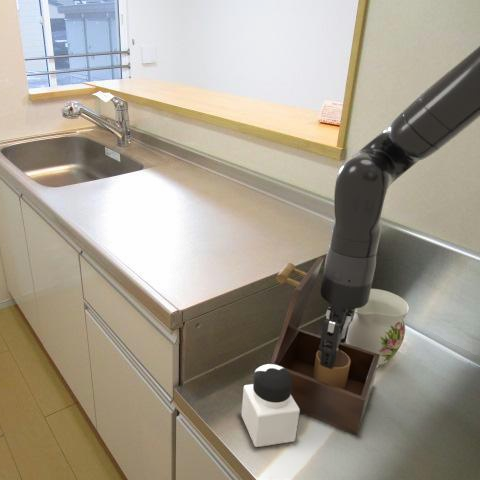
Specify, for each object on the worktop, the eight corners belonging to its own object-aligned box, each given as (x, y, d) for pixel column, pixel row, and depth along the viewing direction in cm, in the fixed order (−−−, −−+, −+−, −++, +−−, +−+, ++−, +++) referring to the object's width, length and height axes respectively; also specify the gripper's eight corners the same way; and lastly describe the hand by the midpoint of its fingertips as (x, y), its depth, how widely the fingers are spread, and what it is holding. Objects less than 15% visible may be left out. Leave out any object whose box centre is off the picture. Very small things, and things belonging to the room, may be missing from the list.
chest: (372, 387, 86) (380, 354, 83) (356, 435, 76) (364, 400, 72) (292, 358, 94) (296, 327, 91) (268, 399, 84) (271, 365, 80)
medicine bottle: (296, 442, 75) (304, 386, 70) (254, 448, 74) (260, 391, 69) (278, 410, 81) (285, 356, 76) (240, 415, 80) (245, 361, 75)
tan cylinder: (348, 390, 84) (355, 356, 81) (336, 408, 80) (343, 372, 77) (318, 376, 88) (324, 343, 84) (305, 393, 84) (310, 358, 80)
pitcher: (421, 352, 95) (436, 296, 89) (367, 385, 86) (380, 325, 81) (374, 327, 104) (386, 274, 98) (321, 354, 95) (330, 298, 89)
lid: (323, 258, 82) (296, 247, 84) (300, 290, 72) (270, 277, 74) (298, 326, 90) (274, 315, 93) (274, 365, 80) (247, 351, 82)
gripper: (363, 299, 66) (345, 384, 73) (380, 261, 77) (363, 339, 84) (312, 285, 70) (299, 367, 77) (335, 251, 81) (322, 326, 88)
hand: (333, 352), depth 80 cm, fingers open, 8 cm apart
